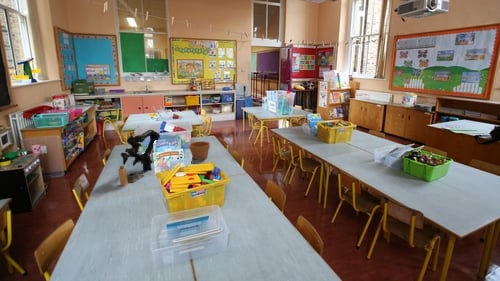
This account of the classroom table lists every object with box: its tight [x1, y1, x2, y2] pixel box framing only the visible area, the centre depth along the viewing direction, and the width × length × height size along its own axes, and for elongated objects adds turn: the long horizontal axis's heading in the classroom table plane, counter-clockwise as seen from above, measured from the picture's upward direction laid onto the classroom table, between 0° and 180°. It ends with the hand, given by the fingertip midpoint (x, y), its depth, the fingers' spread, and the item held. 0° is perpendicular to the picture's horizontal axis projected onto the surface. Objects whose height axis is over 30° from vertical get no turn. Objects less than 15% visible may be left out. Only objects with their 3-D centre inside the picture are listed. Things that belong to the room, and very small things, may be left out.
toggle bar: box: [117, 165, 129, 186], centre depth 228 cm, size 4×4×16 cm
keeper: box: [127, 172, 145, 184], centre depth 240 cm, size 14×11×4 cm
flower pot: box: [188, 141, 211, 161], centre depth 290 cm, size 21×21×15 cm
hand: (128, 165), depth 234 cm, fingers open, 9 cm apart
